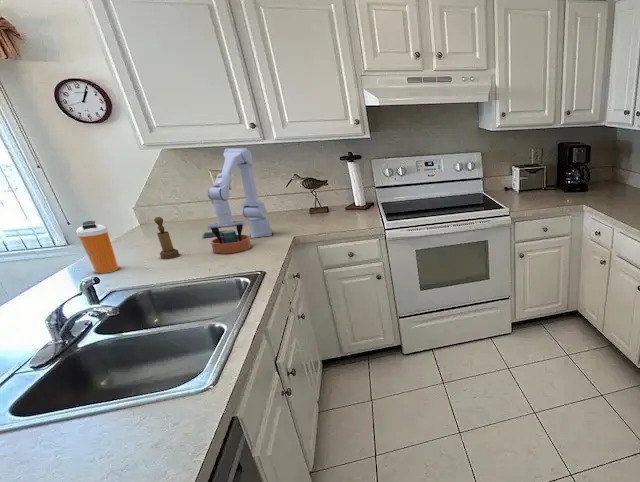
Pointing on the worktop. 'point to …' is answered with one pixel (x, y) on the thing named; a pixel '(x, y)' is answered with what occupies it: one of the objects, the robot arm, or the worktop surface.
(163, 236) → the wooden pepper mill
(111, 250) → the shaker bottle
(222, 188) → the robot arm
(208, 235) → the slate coaster
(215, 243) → the terracotta bowl
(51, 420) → the worktop surface
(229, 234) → the teal cup
